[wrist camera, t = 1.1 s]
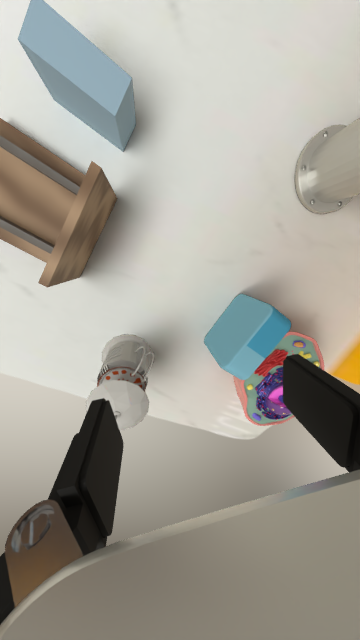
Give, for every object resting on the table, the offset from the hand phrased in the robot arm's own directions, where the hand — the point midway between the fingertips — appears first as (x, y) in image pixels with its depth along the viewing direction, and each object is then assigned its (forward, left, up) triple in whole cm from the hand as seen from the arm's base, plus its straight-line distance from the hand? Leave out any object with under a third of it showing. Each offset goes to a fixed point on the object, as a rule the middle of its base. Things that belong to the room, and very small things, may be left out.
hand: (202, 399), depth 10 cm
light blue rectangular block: (-18, -21, -28) cm, 39 cm away
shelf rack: (-3, -22, -28) cm, 36 cm away
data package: (-2, +14, -28) cm, 32 cm away
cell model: (+2, +26, -28) cm, 39 cm away
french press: (+13, 0, -28) cm, 31 cm away
